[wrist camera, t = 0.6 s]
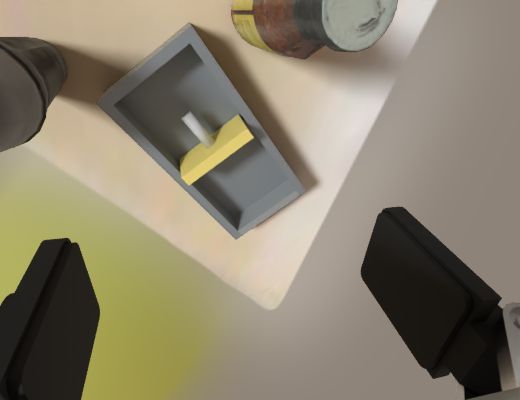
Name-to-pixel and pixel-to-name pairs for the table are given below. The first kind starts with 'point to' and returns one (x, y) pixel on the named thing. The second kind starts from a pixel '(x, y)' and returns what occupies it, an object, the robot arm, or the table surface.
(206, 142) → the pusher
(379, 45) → the table surface
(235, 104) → the grey tray
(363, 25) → the sauce bottle
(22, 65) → the beverage cup
